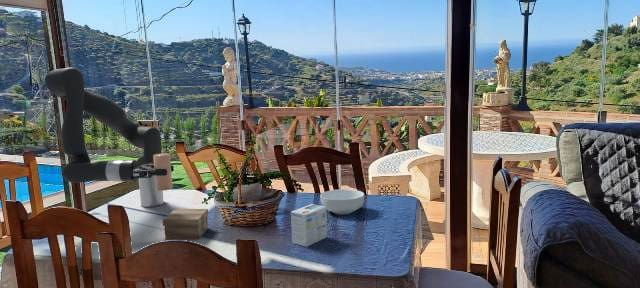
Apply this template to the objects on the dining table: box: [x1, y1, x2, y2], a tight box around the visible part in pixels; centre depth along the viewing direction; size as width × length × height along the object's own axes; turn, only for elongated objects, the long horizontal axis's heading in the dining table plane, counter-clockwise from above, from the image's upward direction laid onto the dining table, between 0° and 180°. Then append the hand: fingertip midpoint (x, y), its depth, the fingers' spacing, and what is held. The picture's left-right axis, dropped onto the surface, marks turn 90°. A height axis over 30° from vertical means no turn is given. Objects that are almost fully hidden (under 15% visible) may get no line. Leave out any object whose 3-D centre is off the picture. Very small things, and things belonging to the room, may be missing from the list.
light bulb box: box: [290, 203, 328, 248], centre depth 157 cm, size 11×7×11 cm, turn 141°
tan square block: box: [162, 208, 209, 241], centre depth 167 cm, size 12×12×7 cm
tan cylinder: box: [153, 152, 173, 192], centre depth 168 cm, size 6×6×12 cm
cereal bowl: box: [319, 188, 365, 215], centre depth 187 cm, size 17×17×7 cm
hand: (170, 170), depth 168 cm, fingers closed on tan cylinder, 5 cm apart
